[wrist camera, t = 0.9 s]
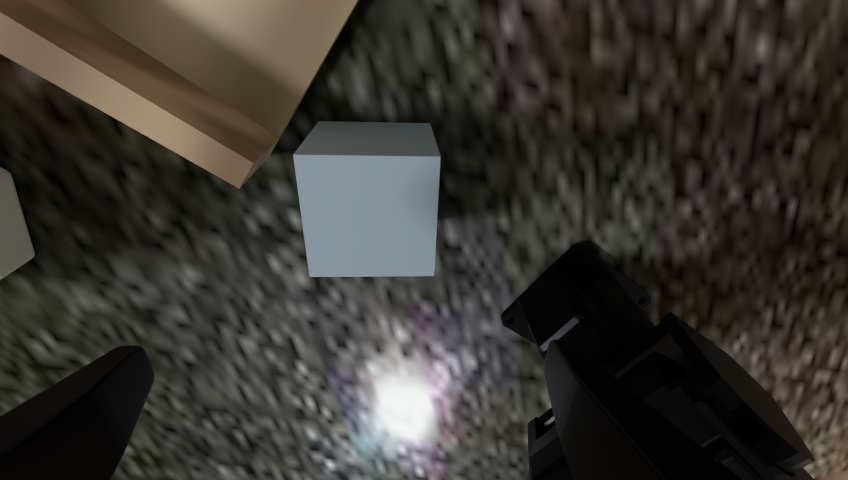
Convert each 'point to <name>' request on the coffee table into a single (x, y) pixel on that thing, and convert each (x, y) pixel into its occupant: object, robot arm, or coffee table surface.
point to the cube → (369, 198)
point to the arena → (182, 66)
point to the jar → (12, 228)
